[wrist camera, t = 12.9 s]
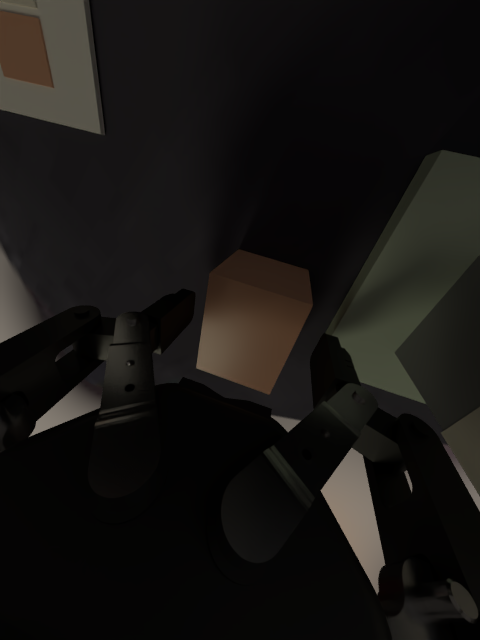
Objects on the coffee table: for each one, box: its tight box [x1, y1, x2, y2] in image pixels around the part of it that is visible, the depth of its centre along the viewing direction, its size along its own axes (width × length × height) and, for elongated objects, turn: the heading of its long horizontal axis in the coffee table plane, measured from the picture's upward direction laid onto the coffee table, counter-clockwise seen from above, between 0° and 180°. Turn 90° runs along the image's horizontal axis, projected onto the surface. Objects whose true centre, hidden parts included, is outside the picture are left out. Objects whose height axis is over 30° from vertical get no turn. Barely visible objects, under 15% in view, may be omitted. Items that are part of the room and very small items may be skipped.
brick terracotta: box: [196, 249, 313, 394], centre depth 12 cm, size 6×4×5 cm
